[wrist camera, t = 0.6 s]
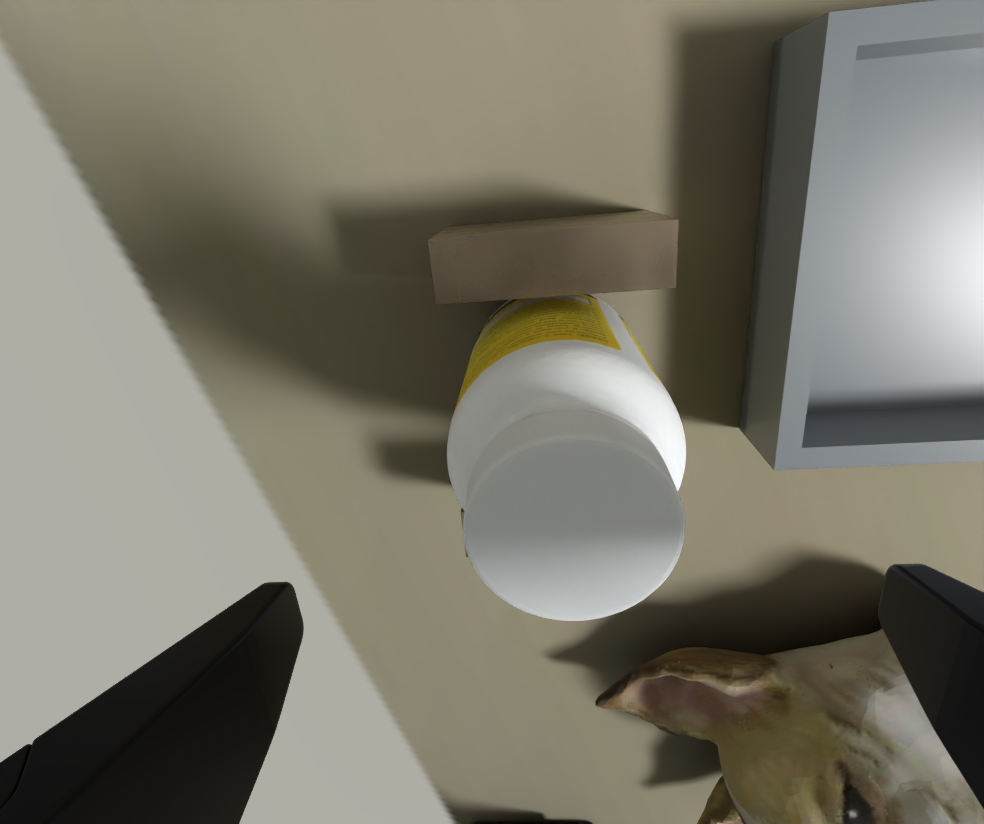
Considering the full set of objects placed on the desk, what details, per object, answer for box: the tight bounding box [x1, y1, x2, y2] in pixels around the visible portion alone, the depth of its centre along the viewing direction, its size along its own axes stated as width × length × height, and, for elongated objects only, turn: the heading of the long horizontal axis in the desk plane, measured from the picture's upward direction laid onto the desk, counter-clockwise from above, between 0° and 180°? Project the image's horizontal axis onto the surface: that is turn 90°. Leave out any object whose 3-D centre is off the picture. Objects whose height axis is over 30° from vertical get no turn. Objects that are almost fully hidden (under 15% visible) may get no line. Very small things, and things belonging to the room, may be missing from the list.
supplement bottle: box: [447, 294, 686, 621], centre depth 15 cm, size 5×5×10 cm
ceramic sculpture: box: [596, 629, 984, 824], centre depth 20 cm, size 11×9×15 cm
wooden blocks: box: [428, 210, 679, 557], centre depth 17 cm, size 9×6×4 cm, turn 5°
